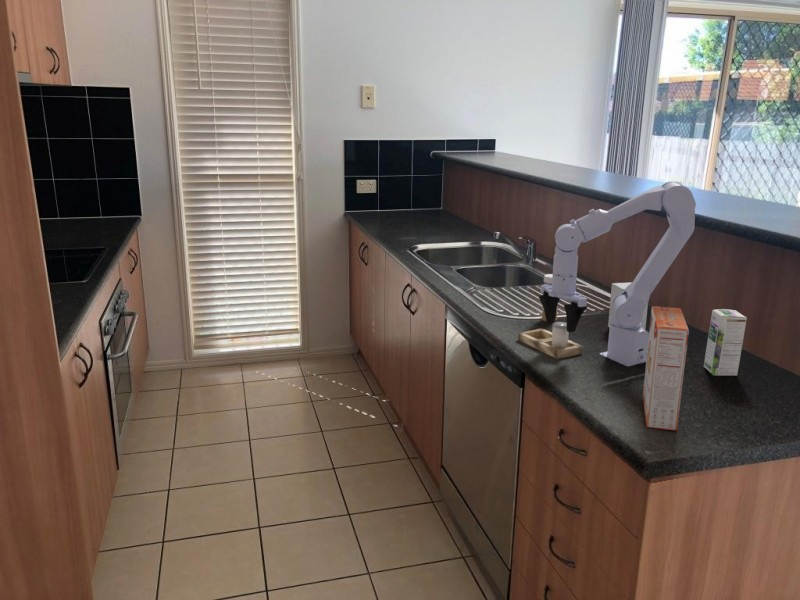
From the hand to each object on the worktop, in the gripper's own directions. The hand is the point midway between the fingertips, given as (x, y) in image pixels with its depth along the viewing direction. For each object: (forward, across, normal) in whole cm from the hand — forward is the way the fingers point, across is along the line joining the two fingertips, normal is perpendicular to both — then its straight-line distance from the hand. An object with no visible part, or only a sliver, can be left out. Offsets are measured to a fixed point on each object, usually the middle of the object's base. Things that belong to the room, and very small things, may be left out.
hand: (560, 326), depth 164 cm
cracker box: (+7, +36, -5) cm, 37 cm away
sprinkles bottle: (+7, -22, +16) cm, 28 cm away
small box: (+7, -5, +29) cm, 30 cm away
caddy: (+7, -4, 0) cm, 8 cm away
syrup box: (+7, +27, +26) cm, 38 cm away
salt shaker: (+6, 0, 0) cm, 6 cm away
